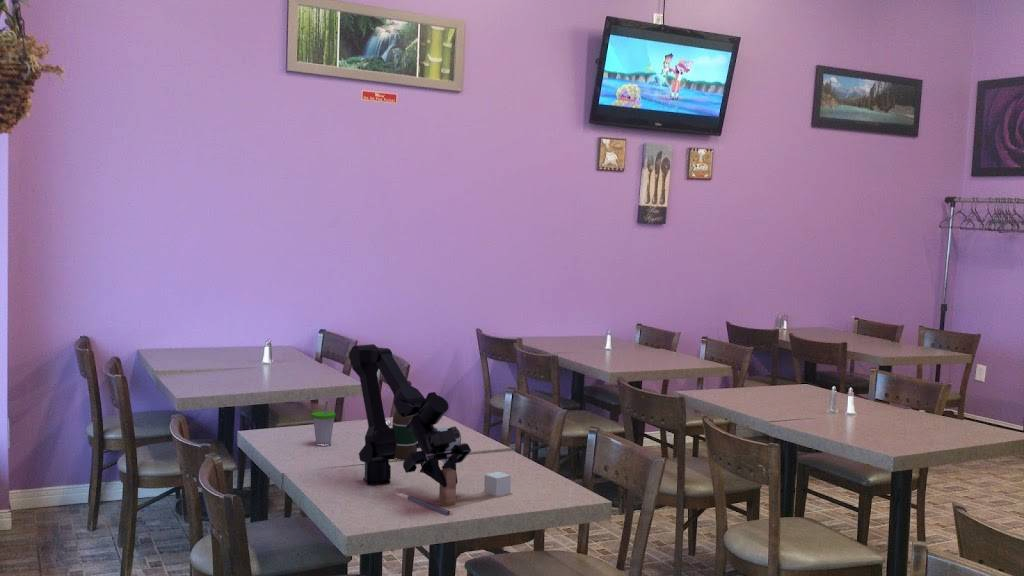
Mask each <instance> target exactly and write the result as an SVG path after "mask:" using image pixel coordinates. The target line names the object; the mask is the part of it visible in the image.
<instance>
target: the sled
mask: <svg viewBox="0 0 1024 576" xmlns="http://www.w3.org/2000/svg"><path fill="white" fill-rule="evenodd" d="M440 469H441V471H442V474H443V476H444V478H445V480H446V483H447V486H446V487H443V486H442V485H441V484H439V491H438V492H439V495H438V496H439V498H438V499H439V501H437V502H434V505H436V506H437V505H438V506H439V507H443V508H444V509H445V508H446V509H454V508H457V507H461V506H466V505H470V504H475V503H479V502H480V503H481V502H484V501H488V500H493V499H496V498H501V497H504V496H505V497H506V496H510V495H513V493H511V492H510V494H507V495H502V496H498V497H495V496H492V495H490V494H487V493H484V491H482V492H481V491H480V492H477V493H474V494H469V495H464V496H461V497H457V484H456V473H457V469H456V470H454V469H451V468H446V469H442V468H440ZM449 511H450V510H449ZM450 513H451V511H450Z"/></svg>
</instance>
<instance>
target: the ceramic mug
mask: <svg viewBox="0 0 1024 576" xmlns="http://www.w3.org/2000/svg"><path fill="white" fill-rule="evenodd" d="M448 428H449V427H435V429H436V431H446V430H447V429H448ZM458 431H459V434H460V437H459V438H457V439H456V442H452V443H449V445H450V446H449V448H447V449H446V451H450V450H451V449H452V448H453V447H454V445H457V444H462V434H461V431H460V429H458Z"/></svg>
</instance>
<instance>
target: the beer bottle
mask: <svg viewBox="0 0 1024 576" xmlns="http://www.w3.org/2000/svg"><path fill="white" fill-rule="evenodd" d="M407 381H408V383H409V384H410V385H411V386H412V381H410V380H407ZM412 417H413V416H408V417H401V416H400V415H399V414H398V412H397V410H396V409H395V411H394V413H393V416H392V427H391V428H394V430H395V436H396V440H397V442H396V443H397V448H396V452H395V456H394V457H395V458H397V459H396V460H398V459H404V460H403V461H405V460H406V458H407V457H408V456H409V454H410V453H411V452H417V451H418V448H417V447H416V444H417V443H418V442H417V440H416V438H415V436H414V434H413V432H412V430H409V431H406V425H407V421H408V420H411V419H412ZM395 458H394V459H395Z"/></svg>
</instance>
